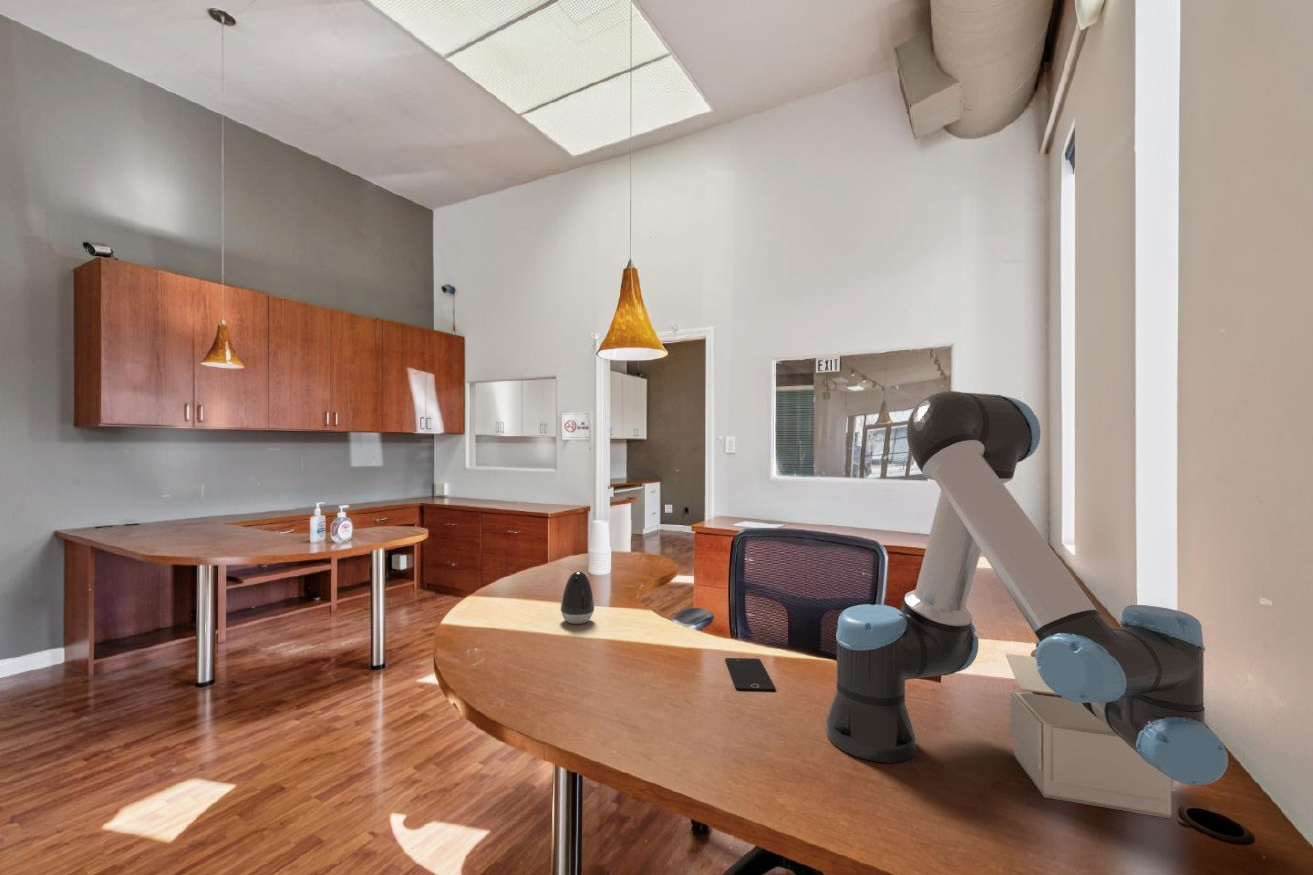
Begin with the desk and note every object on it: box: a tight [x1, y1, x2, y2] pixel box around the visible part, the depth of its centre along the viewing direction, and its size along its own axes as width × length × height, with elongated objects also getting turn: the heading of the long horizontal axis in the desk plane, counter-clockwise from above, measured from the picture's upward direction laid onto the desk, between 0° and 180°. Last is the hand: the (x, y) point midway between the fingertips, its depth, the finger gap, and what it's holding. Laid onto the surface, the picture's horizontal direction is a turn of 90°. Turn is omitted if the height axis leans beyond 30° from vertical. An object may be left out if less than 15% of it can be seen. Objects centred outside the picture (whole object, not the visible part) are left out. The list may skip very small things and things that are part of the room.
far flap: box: [1005, 653, 1058, 695], centre depth 95 cm, size 14×8×1 cm, turn 75°
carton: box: [1010, 691, 1176, 819], centre depth 85 cm, size 17×13×11 cm
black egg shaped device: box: [560, 570, 595, 625], centre depth 162 cm, size 10×10×15 cm
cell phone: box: [724, 657, 777, 693], centre depth 126 cm, size 9×18×1 cm, turn 0°
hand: (1046, 647), depth 100 cm, fingers closed
